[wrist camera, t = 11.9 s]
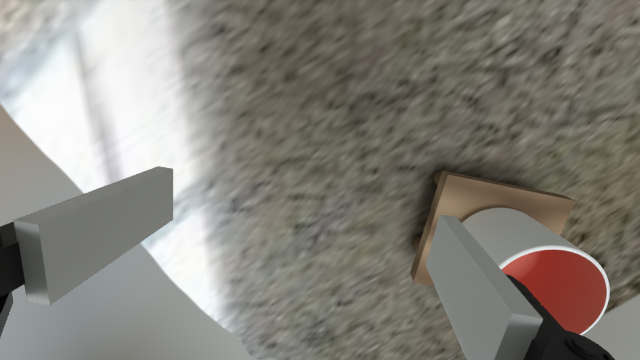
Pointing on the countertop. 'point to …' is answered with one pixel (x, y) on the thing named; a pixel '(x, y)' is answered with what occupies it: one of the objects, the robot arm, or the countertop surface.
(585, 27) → the countertop surface
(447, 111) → the countertop surface
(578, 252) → the cup
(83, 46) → the countertop surface
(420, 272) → the stool
